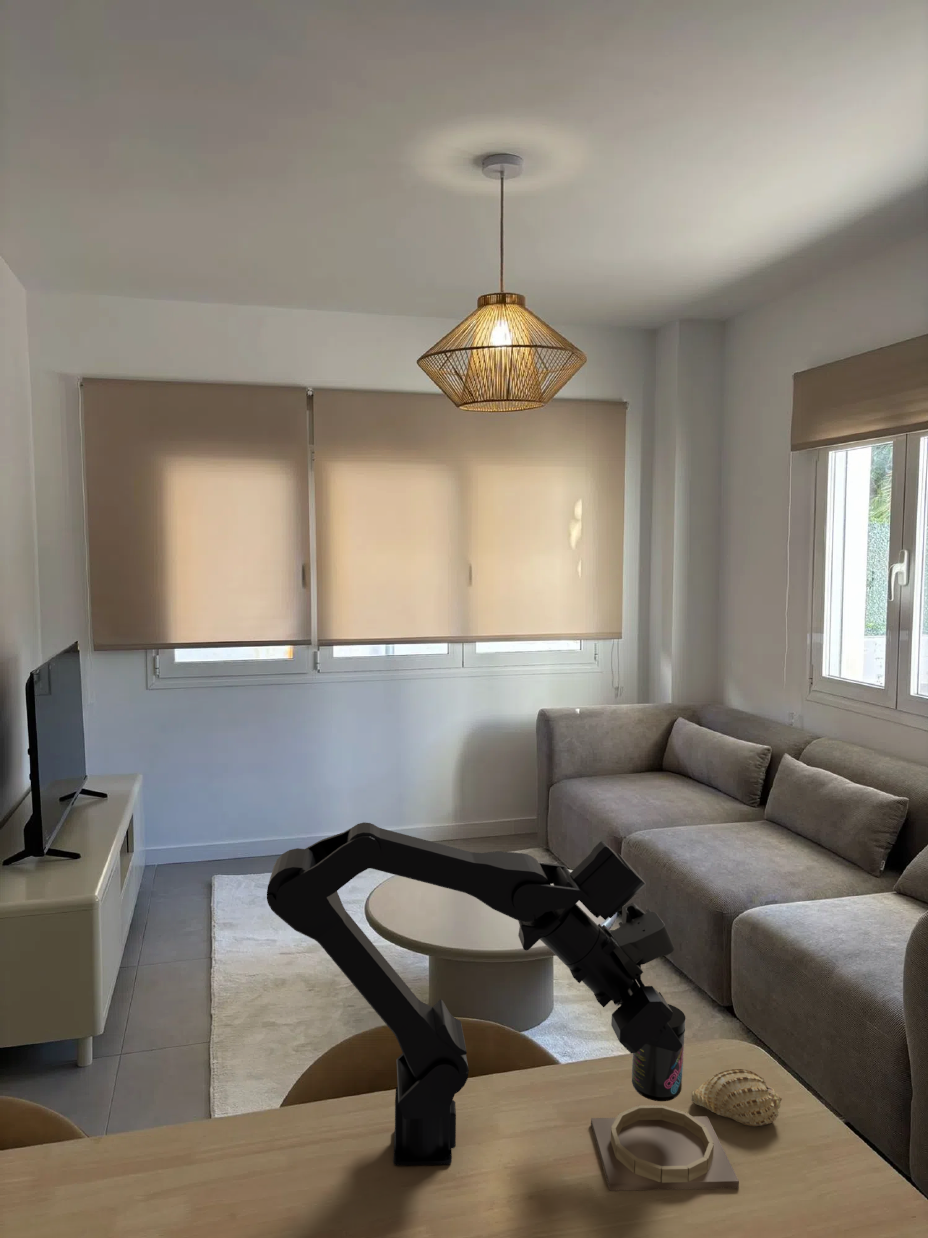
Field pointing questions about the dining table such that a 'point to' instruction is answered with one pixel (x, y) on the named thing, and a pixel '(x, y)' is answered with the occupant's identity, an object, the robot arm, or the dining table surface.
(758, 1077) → the seashell
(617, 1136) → the collar board
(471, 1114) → the dining table surface
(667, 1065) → the supplement container
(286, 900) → the robot arm
